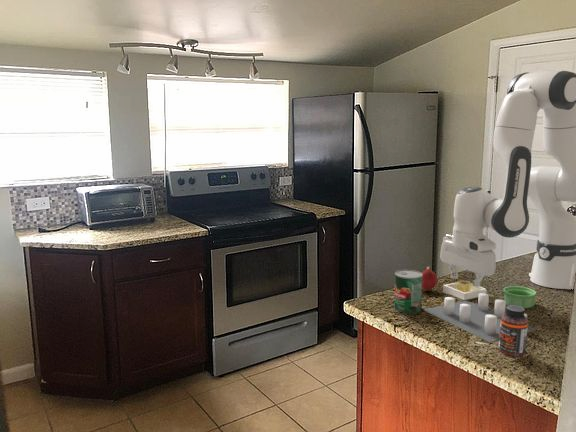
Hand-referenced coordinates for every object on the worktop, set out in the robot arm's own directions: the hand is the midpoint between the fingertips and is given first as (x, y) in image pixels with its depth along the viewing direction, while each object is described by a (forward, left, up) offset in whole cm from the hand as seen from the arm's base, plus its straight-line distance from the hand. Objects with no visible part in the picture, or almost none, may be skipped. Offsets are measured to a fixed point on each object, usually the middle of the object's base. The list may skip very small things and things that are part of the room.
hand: (465, 282), depth 164 cm
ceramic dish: (0, 0, -4) cm, 4 cm away
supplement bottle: (+20, +36, -4) cm, 41 cm away
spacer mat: (+13, +17, -4) cm, 22 cm away
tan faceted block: (0, 0, -4) cm, 4 cm away
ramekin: (-8, +14, -4) cm, 17 cm away
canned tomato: (+24, +2, -4) cm, 24 cm away
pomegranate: (+8, -8, -4) cm, 12 cm away
